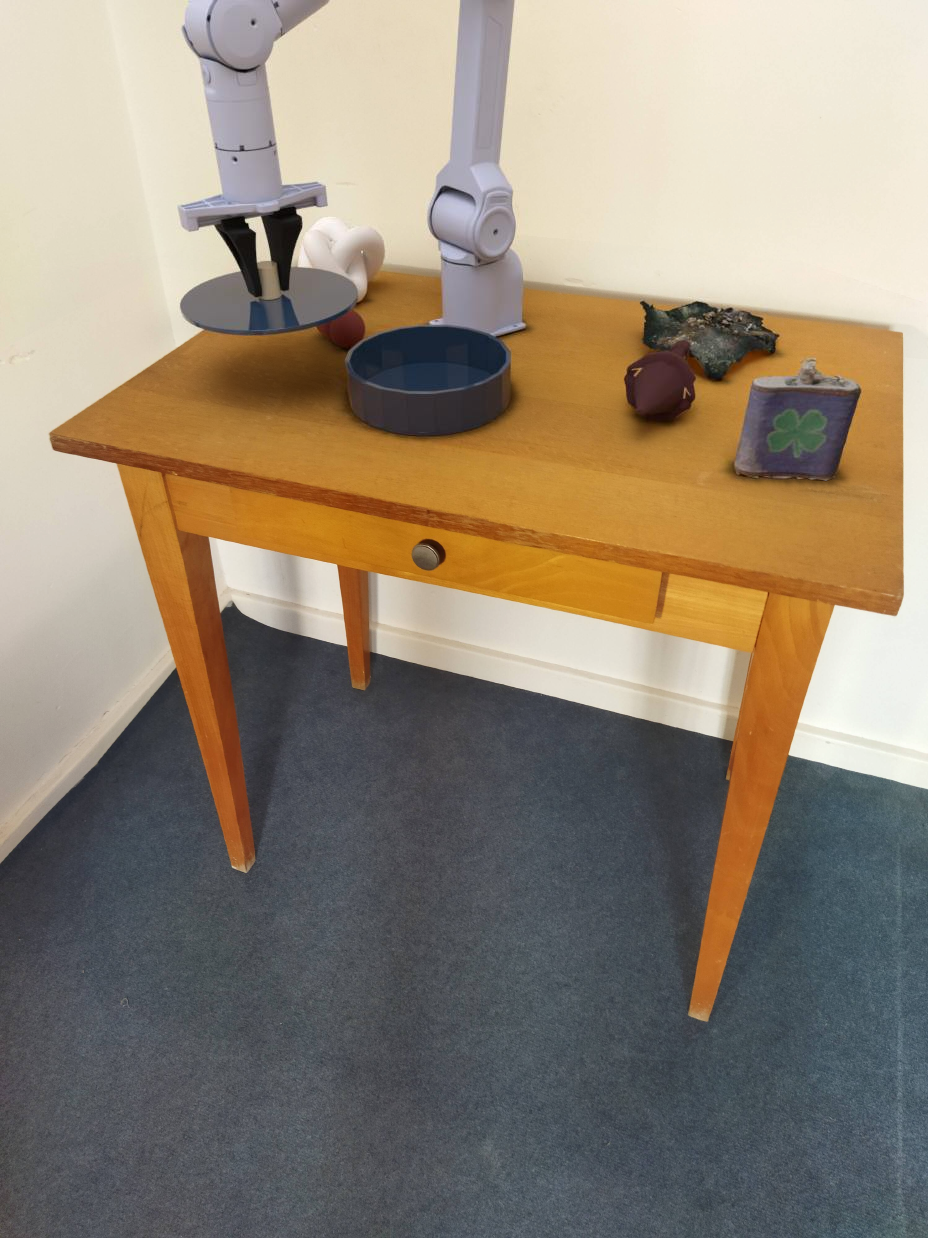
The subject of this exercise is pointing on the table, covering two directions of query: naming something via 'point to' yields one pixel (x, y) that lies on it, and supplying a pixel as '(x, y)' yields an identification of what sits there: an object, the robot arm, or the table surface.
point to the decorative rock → (708, 334)
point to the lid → (269, 302)
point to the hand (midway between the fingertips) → (268, 290)
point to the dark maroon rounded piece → (661, 383)
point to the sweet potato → (344, 329)
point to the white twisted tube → (343, 251)
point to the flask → (796, 425)
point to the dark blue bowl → (428, 379)
